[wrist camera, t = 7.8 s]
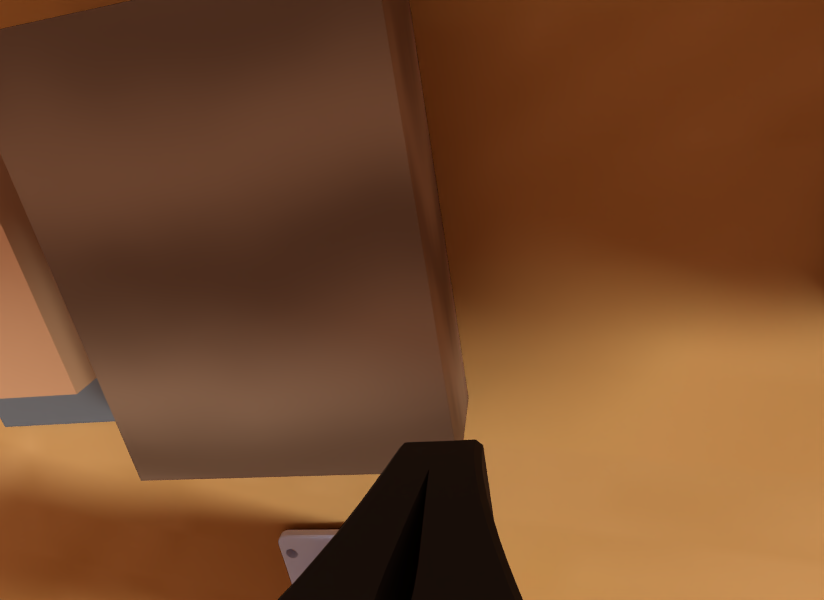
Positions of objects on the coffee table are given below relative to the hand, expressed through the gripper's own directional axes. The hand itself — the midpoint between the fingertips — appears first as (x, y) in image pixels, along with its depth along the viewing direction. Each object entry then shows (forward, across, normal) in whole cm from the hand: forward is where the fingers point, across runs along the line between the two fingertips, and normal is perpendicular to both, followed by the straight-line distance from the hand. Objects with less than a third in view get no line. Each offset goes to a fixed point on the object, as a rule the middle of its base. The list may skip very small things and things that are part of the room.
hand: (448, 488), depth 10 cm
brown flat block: (+10, +6, -2) cm, 12 cm away
